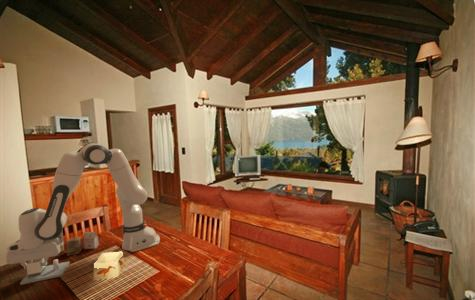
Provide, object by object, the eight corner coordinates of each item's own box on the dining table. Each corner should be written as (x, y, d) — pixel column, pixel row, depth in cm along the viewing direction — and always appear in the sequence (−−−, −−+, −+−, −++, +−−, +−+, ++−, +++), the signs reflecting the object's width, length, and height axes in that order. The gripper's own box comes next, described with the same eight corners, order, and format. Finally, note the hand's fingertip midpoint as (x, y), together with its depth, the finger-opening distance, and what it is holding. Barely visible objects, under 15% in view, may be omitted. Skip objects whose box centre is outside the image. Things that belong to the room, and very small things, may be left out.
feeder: (81, 249, 131) (80, 236, 130) (79, 253, 127) (78, 240, 126) (69, 251, 129) (68, 238, 128) (66, 255, 124) (65, 242, 124)
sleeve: (45, 268, 111) (44, 256, 110) (40, 275, 106) (39, 261, 105) (33, 271, 109) (31, 258, 108) (27, 277, 104) (26, 264, 103)
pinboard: (69, 263, 117) (68, 252, 116) (61, 276, 107) (60, 264, 106) (32, 270, 111) (31, 259, 110) (20, 285, 101) (19, 272, 100)
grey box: (87, 245, 135) (86, 230, 134) (98, 245, 135) (97, 230, 134) (83, 249, 131) (82, 233, 130) (95, 248, 131) (93, 233, 130)
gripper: (61, 234, 113) (63, 258, 114) (10, 242, 105) (13, 268, 106) (56, 239, 107) (59, 265, 108) (2, 248, 99) (5, 276, 100)
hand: (36, 267), depth 107 cm, fingers open, 5 cm apart
